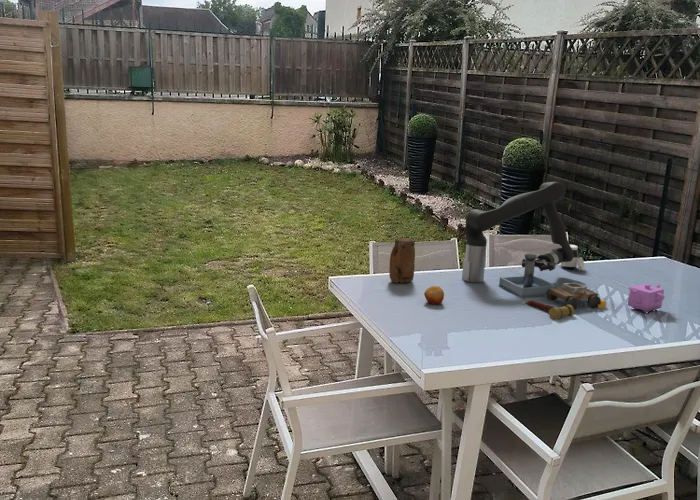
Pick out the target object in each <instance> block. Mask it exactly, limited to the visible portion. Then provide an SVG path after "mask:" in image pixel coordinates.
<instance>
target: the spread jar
mask: <svg viewBox="0 0 700 500" xmlns="http://www.w3.org/2000/svg"><path fill="white" fill-rule="evenodd" d="M570 246H571V248H572V251H573V254H574V256H573V259H572V261H570V262H561V263H560V268H561V267H562V269H563V268H564V269H565V270H571V271H572V270H575V269H577V268H578V270H579V271H580V272H581V271H585V262H584V258H583V257H582V256H581V257H579V252H578V248H579V247H578V245H575V244H570Z"/></svg>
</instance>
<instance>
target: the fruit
mask: <svg viewBox="0 0 700 500" xmlns="http://www.w3.org/2000/svg"><path fill="white" fill-rule="evenodd" d="M423 295H424V297H425V300H426V302H427V303H428V304H429V303H430V304H431V305H441V304H442V303H443V301H444V298H445V292H444V290H443V288H441V287H440V286H438V285H437V286H434V285H433V286H429V287H428V288H426V289H425V291H424V294H423Z"/></svg>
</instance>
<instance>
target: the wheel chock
mask: <svg viewBox="0 0 700 500" xmlns="http://www.w3.org/2000/svg"><path fill="white" fill-rule="evenodd" d="M600 300H601V302H600V304H599V305H598V307H597V308H596V309H604V308H606V304H607V300H605V299H602V298H600Z"/></svg>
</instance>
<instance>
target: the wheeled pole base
mask: <svg viewBox="0 0 700 500" xmlns="http://www.w3.org/2000/svg"><path fill="white" fill-rule="evenodd" d="M558 298H559V299H561V300H563V301H565V303H564V306H565V305H572V306H573V308H574V311H575V310H576V309H577V308H578V307H579V301H580V300H587V301H586V302H587V306H589V307H591V308H593V309H598V308H597V307H598V305H599V304H600V302H601V300H600V299H601V297H599V293H598V292H595V291H593V290H591V289H588V287H587V286H585V285H582V284H580V283H578V282H566V283H565V282H564V283H562V284H561V287H557V288H550V289H548V290H547V292H546V299H548V300H551V301H555V300H557V299H558Z"/></svg>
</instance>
